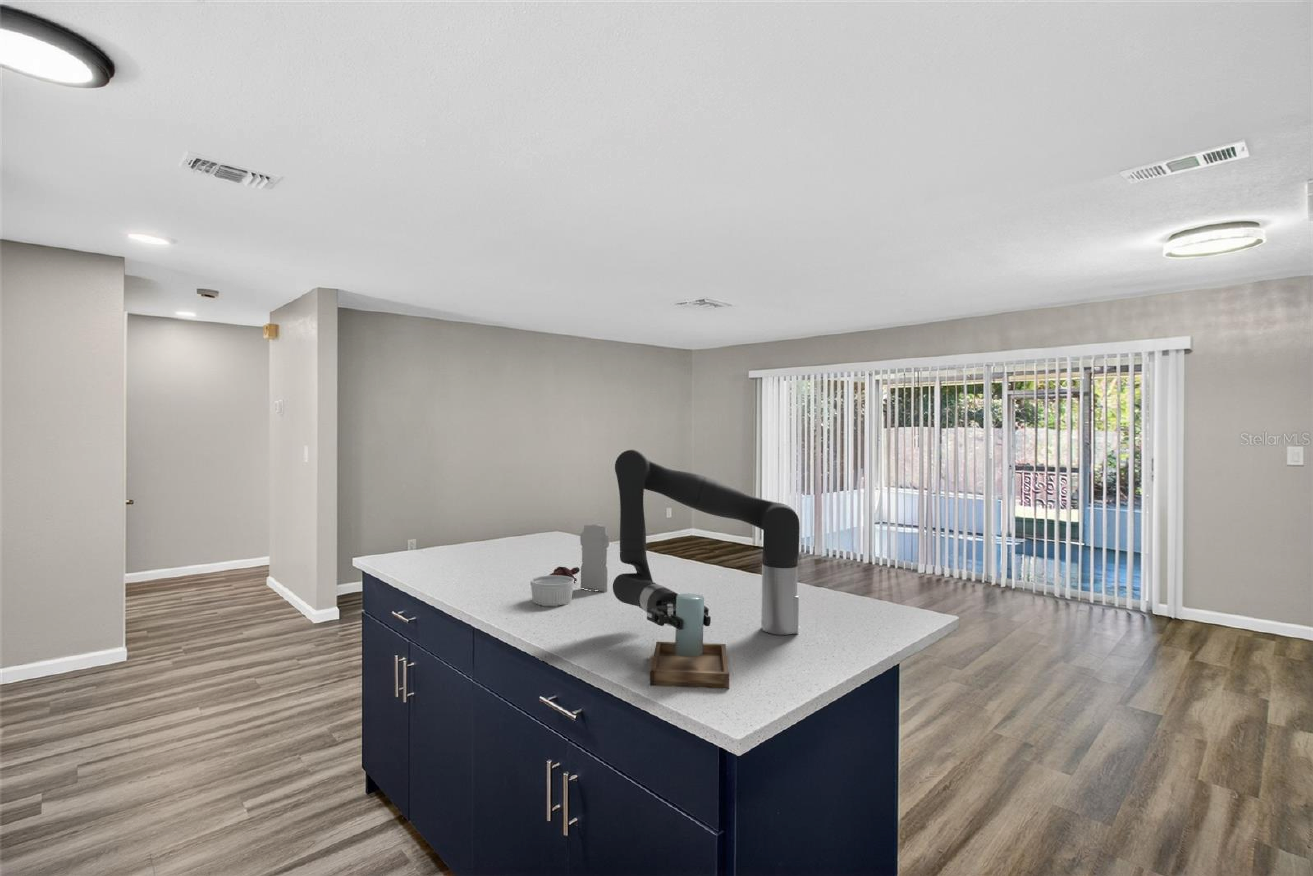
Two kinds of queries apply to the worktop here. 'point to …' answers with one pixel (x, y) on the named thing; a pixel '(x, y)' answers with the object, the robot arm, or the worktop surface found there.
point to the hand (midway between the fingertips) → (695, 623)
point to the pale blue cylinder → (690, 625)
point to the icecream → (566, 572)
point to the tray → (690, 667)
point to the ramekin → (552, 590)
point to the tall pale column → (594, 557)
